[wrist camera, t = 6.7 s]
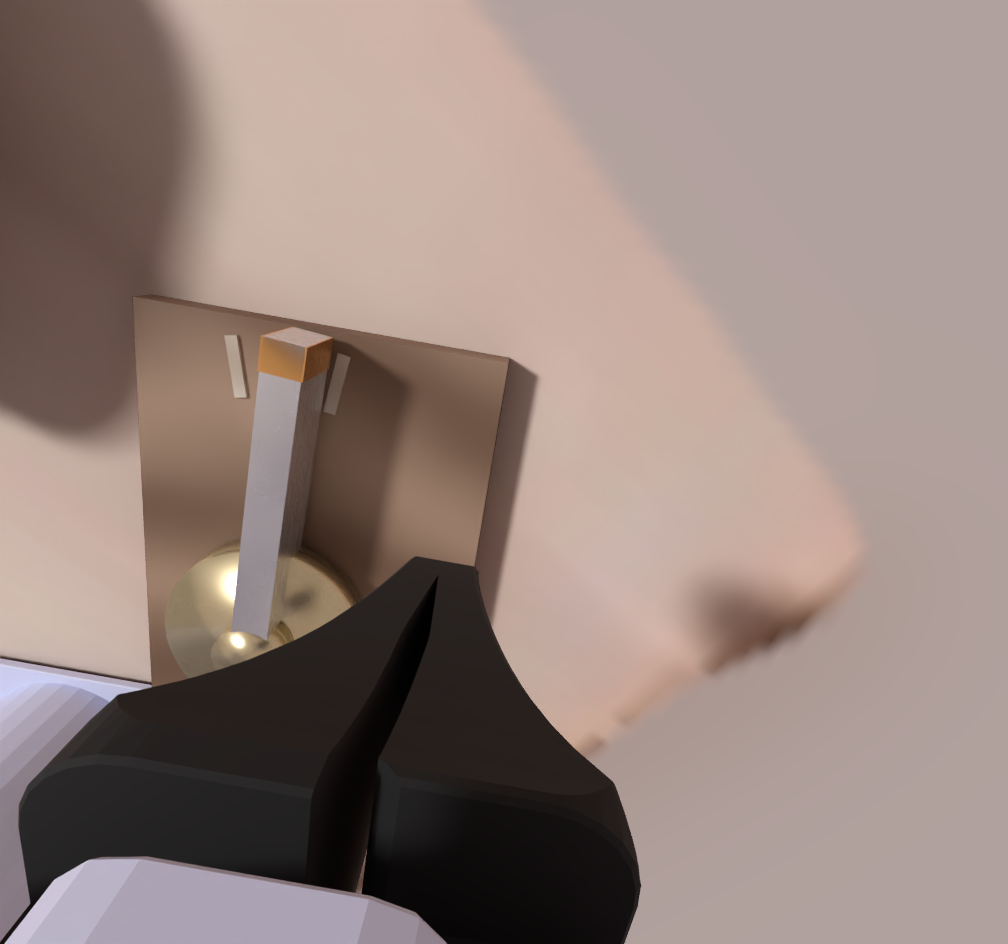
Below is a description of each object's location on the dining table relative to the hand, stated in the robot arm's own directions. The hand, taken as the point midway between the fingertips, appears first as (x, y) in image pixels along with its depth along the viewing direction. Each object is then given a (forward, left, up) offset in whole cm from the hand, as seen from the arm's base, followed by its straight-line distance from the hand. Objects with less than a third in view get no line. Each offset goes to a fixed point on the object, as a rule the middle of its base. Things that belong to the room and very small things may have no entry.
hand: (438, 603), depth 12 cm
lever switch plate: (-4, +6, -9) cm, 12 cm away
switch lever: (-4, +6, -8) cm, 11 cm away
